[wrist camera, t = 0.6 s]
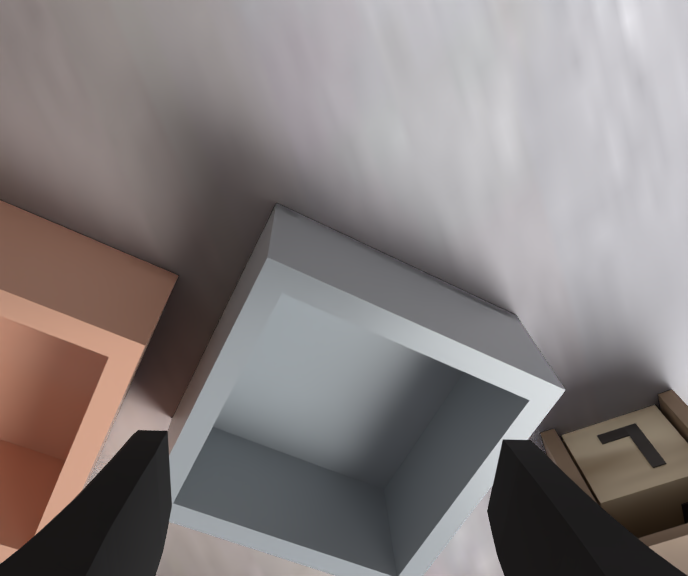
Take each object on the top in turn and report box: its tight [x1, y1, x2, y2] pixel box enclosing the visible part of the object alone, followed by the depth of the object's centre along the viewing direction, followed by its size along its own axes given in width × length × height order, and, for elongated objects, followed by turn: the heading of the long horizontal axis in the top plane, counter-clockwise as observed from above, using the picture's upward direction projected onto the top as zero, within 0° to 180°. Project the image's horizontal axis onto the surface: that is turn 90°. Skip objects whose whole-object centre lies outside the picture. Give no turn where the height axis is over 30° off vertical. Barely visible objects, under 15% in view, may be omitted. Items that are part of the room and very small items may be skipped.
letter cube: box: [561, 405, 688, 538], centre depth 25 cm, size 4×4×4 cm
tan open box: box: [540, 390, 688, 576], centre depth 24 cm, size 6×6×6 cm
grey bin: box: [168, 203, 565, 576], centre depth 22 cm, size 10×10×5 cm
